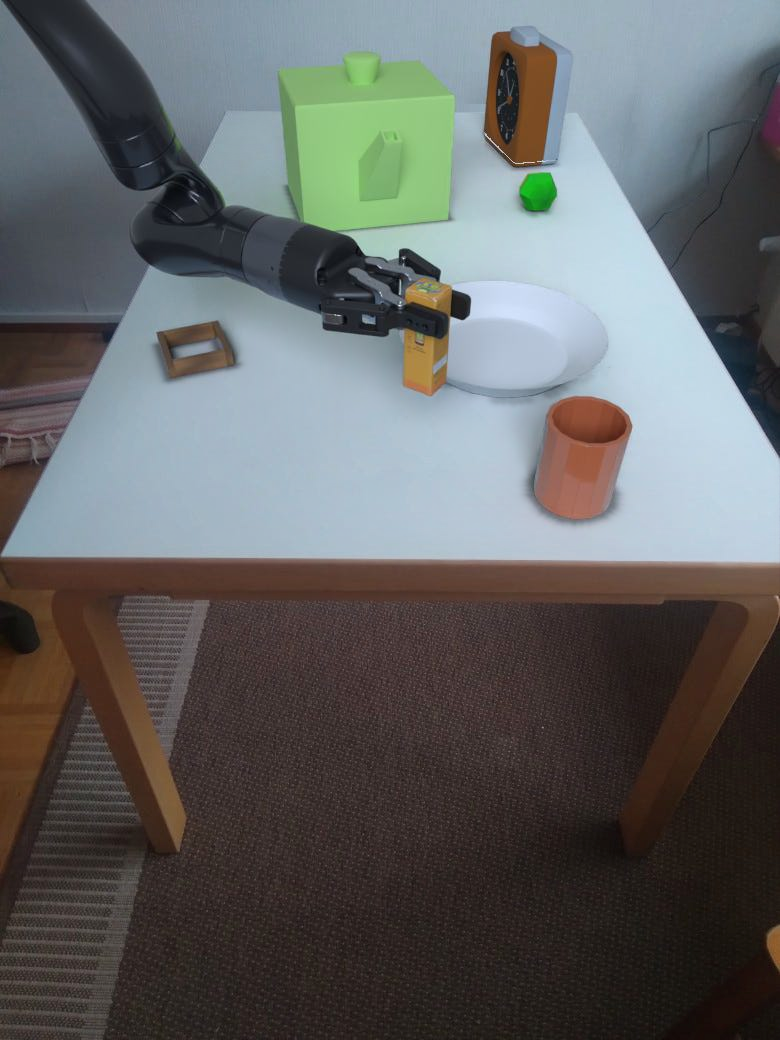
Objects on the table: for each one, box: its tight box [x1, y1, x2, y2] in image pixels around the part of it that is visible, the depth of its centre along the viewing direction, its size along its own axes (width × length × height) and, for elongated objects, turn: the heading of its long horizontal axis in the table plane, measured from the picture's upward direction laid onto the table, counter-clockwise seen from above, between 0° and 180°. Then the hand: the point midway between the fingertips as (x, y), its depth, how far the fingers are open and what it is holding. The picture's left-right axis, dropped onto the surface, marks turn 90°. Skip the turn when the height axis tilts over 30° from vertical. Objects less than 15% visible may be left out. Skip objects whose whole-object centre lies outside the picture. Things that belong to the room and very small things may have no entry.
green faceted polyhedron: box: [518, 171, 558, 211], centre depth 122 cm, size 7×6×9 cm
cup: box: [533, 395, 633, 520], centre depth 70 cm, size 8×8×9 cm
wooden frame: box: [155, 319, 235, 379], centre depth 90 cm, size 8×8×2 cm
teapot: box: [277, 50, 456, 232], centre depth 116 cm, size 24×35×22 cm
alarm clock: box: [483, 25, 574, 168], centre depth 135 cm, size 18×9×21 cm, turn 14°
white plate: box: [398, 280, 609, 399], centre depth 90 cm, size 25×25×4 cm
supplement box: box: [402, 278, 452, 397], centre depth 66 cm, size 3×3×10 cm
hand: (456, 317), depth 63 cm, fingers closed on supplement box, 3 cm apart
